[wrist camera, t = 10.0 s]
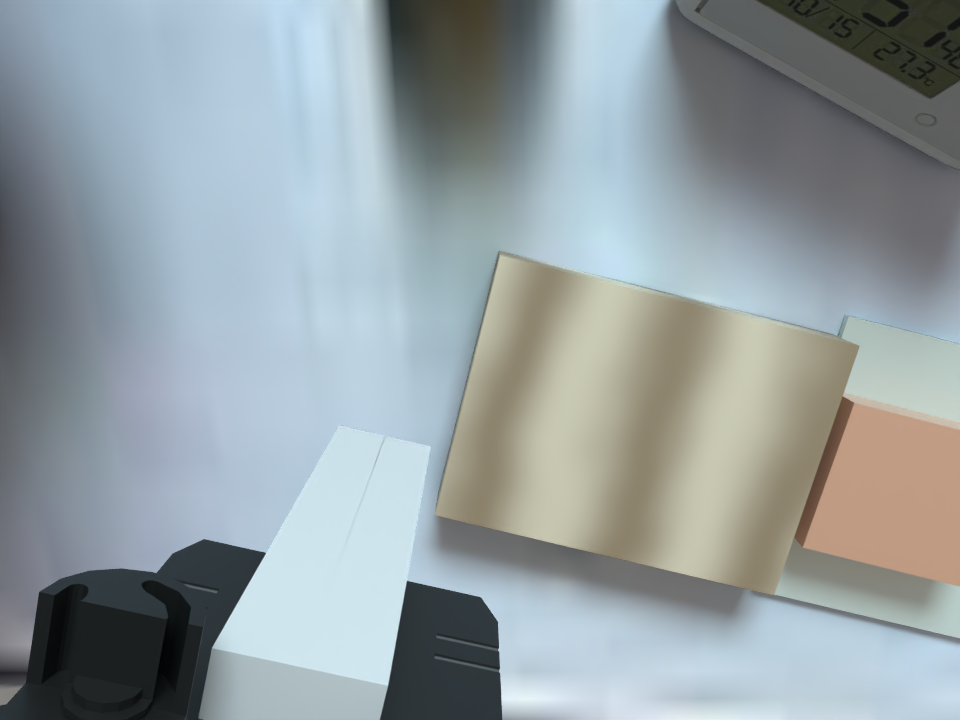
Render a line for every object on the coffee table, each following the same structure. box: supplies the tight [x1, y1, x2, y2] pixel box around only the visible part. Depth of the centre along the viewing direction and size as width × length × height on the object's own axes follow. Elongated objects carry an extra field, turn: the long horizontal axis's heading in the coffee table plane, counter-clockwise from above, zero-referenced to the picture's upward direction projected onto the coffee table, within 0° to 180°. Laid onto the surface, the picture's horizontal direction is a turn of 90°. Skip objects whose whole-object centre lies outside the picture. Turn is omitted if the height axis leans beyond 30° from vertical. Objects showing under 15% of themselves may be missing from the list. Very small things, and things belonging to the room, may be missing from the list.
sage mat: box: [774, 315, 960, 638], centre depth 40 cm, size 11×14×1 cm
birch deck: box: [435, 251, 860, 595], centre depth 39 cm, size 16×12×3 cm
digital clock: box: [675, 0, 960, 169], centre depth 32 cm, size 16×9×11 cm, turn 51°
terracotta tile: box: [794, 393, 960, 586], centre depth 39 cm, size 8×7×2 cm
